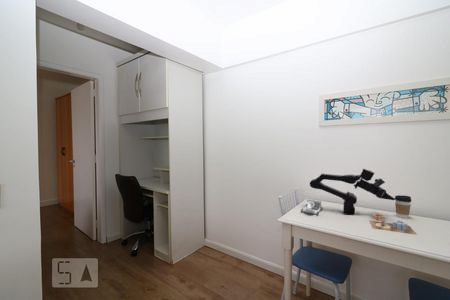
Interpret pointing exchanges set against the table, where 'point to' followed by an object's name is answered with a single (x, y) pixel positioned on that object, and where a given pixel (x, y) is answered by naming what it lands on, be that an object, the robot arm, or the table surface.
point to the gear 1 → (378, 217)
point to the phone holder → (312, 207)
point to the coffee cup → (402, 206)
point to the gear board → (390, 227)
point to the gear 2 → (400, 225)
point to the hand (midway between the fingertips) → (393, 198)
